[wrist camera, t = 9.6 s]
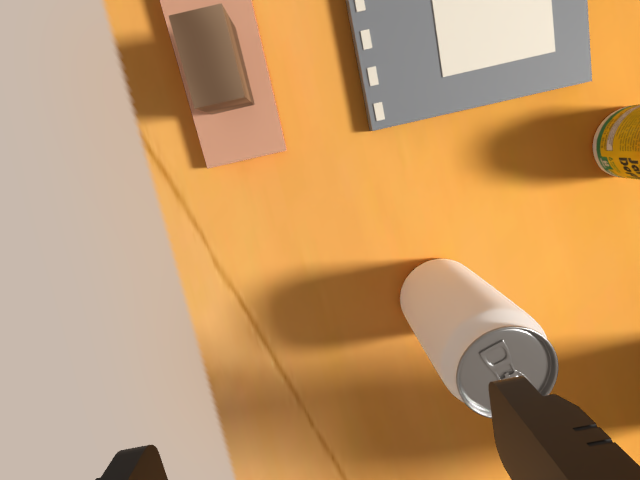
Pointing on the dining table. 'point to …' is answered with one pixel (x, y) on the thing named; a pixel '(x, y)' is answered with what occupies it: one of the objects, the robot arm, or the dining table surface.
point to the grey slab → (464, 53)
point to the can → (474, 333)
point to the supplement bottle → (619, 143)
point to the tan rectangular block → (225, 78)
